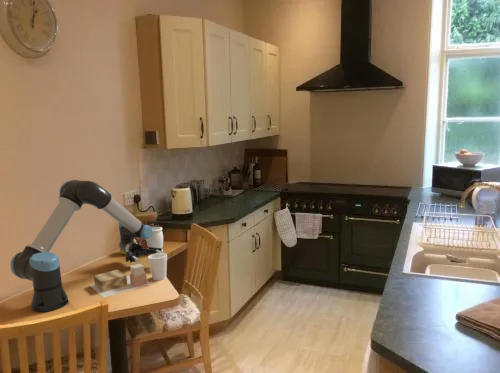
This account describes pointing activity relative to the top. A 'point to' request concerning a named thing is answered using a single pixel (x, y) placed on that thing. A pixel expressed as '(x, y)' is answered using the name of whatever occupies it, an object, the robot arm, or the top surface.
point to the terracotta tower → (137, 275)
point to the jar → (156, 238)
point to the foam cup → (158, 265)
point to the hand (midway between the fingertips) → (150, 258)
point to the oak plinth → (110, 280)
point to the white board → (118, 290)
